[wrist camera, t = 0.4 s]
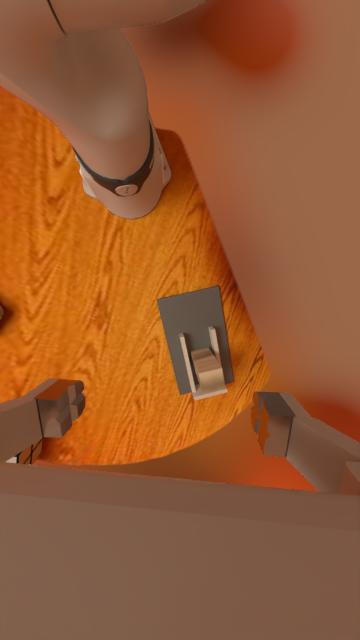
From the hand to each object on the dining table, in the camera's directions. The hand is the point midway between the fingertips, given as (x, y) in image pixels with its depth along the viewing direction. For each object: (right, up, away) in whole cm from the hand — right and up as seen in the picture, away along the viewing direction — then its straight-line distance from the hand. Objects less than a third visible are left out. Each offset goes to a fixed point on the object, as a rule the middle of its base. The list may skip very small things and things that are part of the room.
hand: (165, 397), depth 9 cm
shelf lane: (+6, -3, +42) cm, 42 cm away
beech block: (+6, -6, +42) cm, 43 cm away
